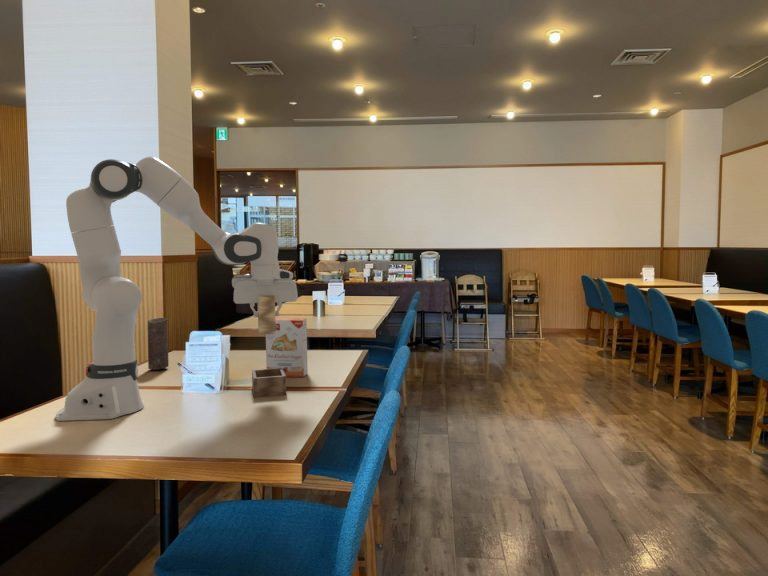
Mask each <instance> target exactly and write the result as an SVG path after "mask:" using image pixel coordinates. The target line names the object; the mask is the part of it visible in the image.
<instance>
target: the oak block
mask: <svg viewBox="0 0 768 576" xmlns="http://www.w3.org/2000/svg"><path fill="white" fill-rule="evenodd" d="M275 310H276V302H275V296H258V303H257V311H258V312H259V314H258V315H259V317H257V327H258V328H257V329H258V334H259V335H266V334H276V327H275V318H276V316H275Z"/></svg>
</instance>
